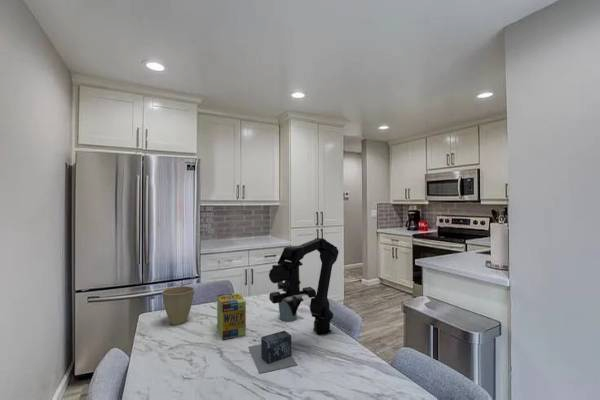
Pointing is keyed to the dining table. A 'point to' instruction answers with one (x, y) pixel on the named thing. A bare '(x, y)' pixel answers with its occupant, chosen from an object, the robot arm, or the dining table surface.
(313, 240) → the robot arm
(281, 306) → the drinking glass
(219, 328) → the protein box
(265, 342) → the box
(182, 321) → the plant pot
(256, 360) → the mat
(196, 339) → the dining table surface
